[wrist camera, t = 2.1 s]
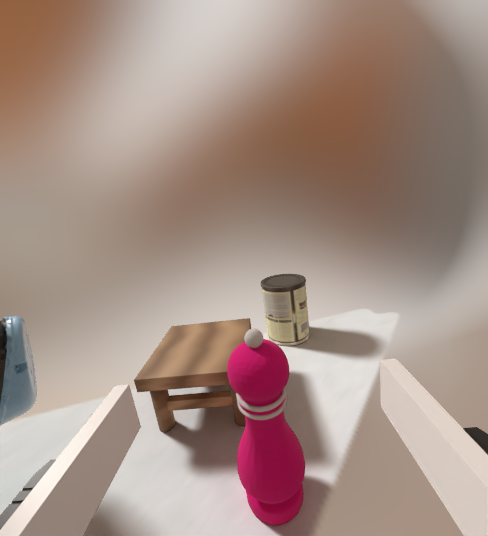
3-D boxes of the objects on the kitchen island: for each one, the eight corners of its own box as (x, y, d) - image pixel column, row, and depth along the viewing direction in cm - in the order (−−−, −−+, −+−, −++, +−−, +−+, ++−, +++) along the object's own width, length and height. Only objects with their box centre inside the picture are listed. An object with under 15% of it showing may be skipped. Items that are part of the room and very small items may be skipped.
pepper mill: (316, 527, 24) (300, 345, 19) (243, 537, 24) (210, 357, 19) (298, 455, 31) (283, 309, 27) (241, 463, 31) (217, 318, 26)
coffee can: (272, 324, 67) (266, 274, 63) (311, 325, 63) (307, 272, 60) (262, 344, 57) (255, 287, 54) (308, 347, 54) (303, 286, 50)
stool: (149, 437, 37) (134, 380, 34) (181, 369, 52) (171, 326, 50) (256, 430, 35) (247, 369, 33) (255, 362, 51) (249, 318, 49)
